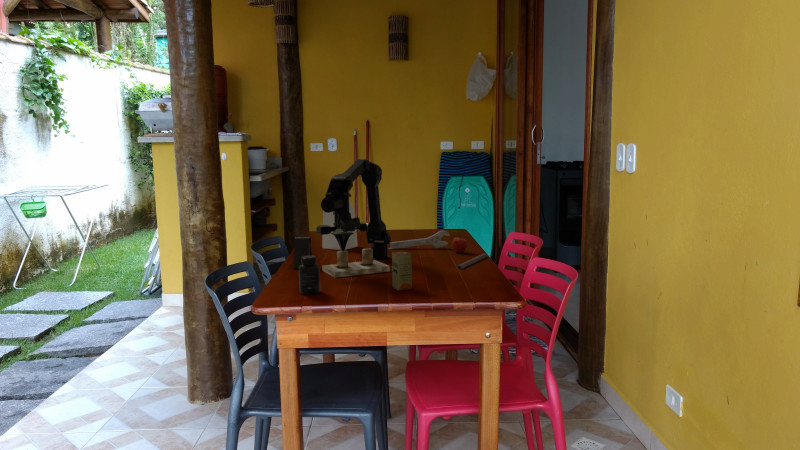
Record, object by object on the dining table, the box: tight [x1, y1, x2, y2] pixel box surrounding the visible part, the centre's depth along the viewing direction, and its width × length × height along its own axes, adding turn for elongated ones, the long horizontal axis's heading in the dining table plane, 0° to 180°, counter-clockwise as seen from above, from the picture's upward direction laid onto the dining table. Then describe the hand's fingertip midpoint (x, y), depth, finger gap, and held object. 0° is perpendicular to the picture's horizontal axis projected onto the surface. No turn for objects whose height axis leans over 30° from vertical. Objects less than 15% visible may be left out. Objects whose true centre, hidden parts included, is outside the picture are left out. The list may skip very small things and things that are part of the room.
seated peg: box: [361, 247, 374, 266], centre depth 239 cm, size 4×4×8 cm
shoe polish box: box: [391, 250, 413, 291], centre depth 208 cm, size 5×5×12 cm
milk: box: [321, 201, 358, 251], centre depth 290 cm, size 12×12×26 cm
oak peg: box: [336, 250, 349, 269], centre depth 235 cm, size 4×4×8 cm
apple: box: [450, 229, 468, 254], centre depth 272 cm, size 8×7×10 cm
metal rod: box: [456, 253, 488, 270], centre depth 250 cm, size 2×27×2 cm, turn 152°
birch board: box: [321, 259, 390, 278], centre depth 238 cm, size 22×14×2 cm, turn 116°
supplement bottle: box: [298, 255, 321, 296], centre depth 204 cm, size 7×7×12 cm
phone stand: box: [292, 236, 314, 270], centre depth 246 cm, size 9×6×12 cm, turn 174°
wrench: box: [387, 230, 450, 250], centre depth 285 cm, size 8×2×30 cm
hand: (342, 251), depth 234 cm, fingers closed
